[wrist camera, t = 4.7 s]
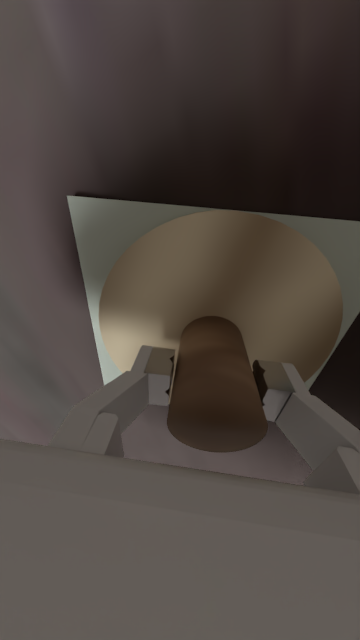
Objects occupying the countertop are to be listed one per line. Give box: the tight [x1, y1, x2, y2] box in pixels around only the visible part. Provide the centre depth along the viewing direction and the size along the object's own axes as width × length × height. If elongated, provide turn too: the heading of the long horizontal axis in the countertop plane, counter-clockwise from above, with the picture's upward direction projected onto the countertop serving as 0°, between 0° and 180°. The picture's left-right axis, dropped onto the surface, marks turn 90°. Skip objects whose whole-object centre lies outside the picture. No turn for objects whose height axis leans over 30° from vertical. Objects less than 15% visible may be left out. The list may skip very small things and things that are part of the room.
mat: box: [67, 196, 360, 390], centre depth 11 cm, size 14×12×1 cm
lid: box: [99, 210, 343, 452], centre depth 9 cm, size 12×12×6 cm
